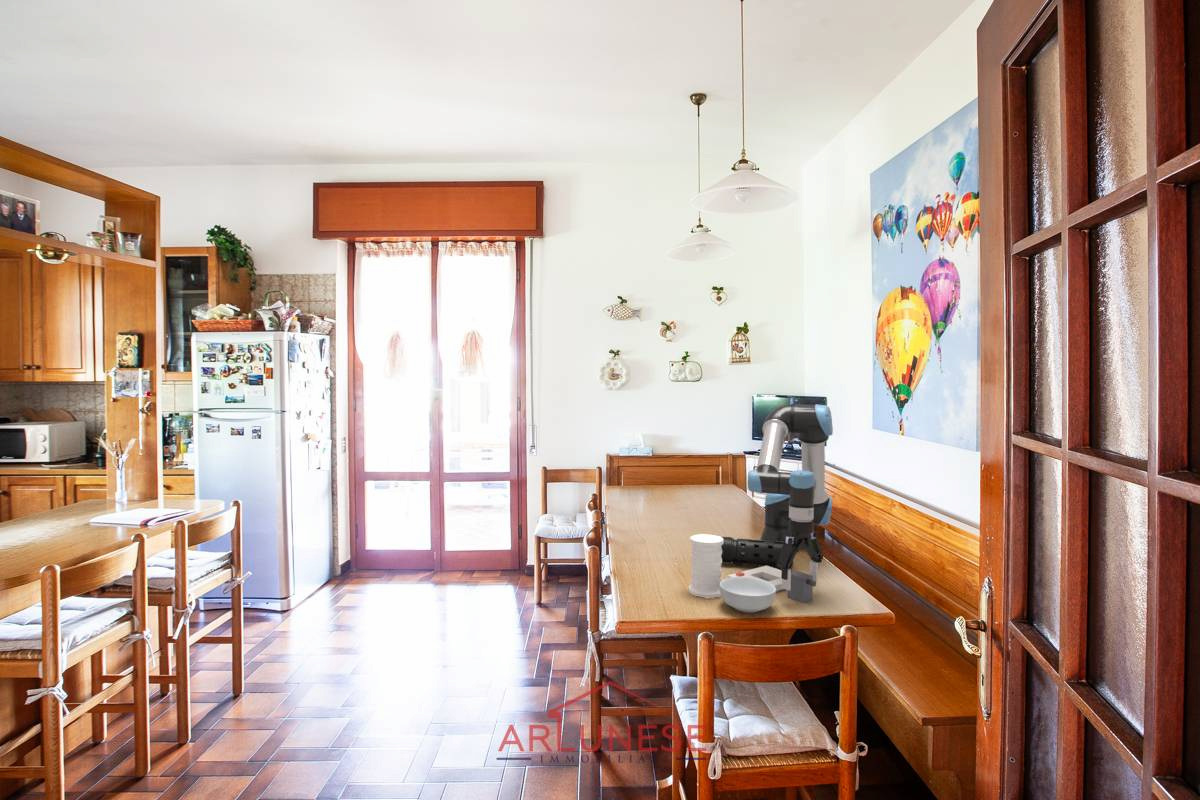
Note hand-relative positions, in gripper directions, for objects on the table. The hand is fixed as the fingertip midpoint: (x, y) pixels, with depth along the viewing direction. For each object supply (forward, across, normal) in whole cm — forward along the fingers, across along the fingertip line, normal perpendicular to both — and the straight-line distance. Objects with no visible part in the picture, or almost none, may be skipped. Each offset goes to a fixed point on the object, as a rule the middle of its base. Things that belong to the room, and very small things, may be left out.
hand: (800, 585), depth 193 cm
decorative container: (+5, -21, +21) cm, 30 cm away
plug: (+5, 0, -1) cm, 5 cm away
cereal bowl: (+5, -20, +4) cm, 21 cm away
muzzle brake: (+4, +14, +32) cm, 35 cm away
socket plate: (+4, +2, +16) cm, 17 cm away
